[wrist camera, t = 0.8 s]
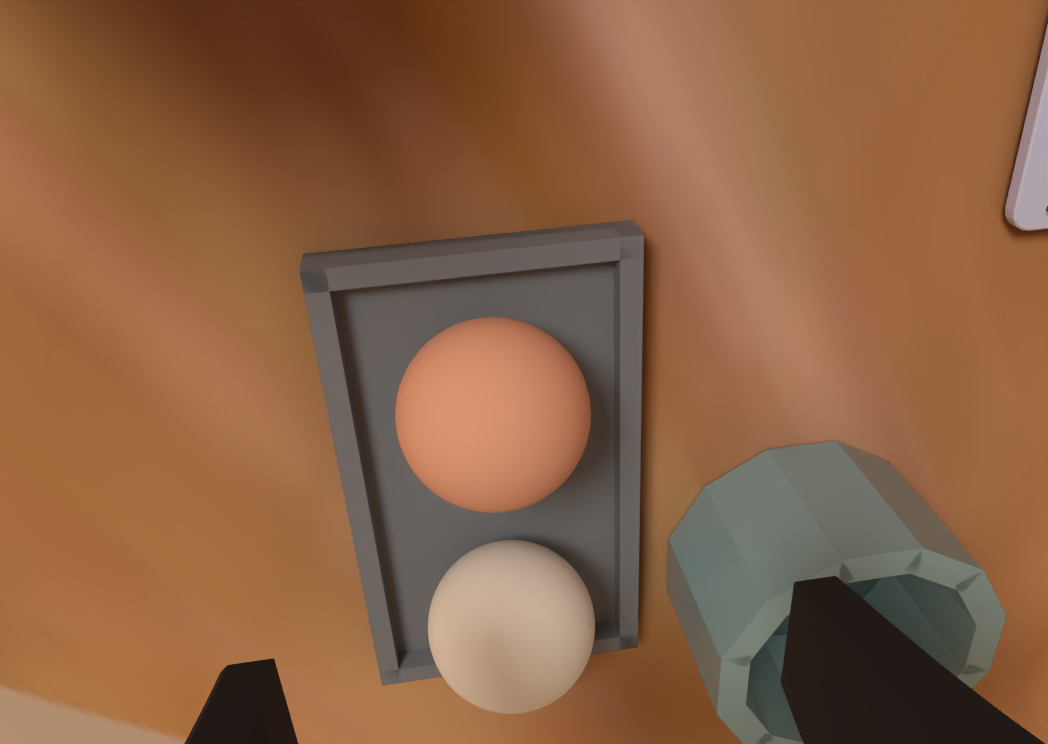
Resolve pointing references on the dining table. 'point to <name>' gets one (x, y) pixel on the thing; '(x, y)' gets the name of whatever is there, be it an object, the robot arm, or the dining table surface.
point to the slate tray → (370, 402)
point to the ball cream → (511, 626)
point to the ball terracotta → (493, 414)
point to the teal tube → (817, 574)
